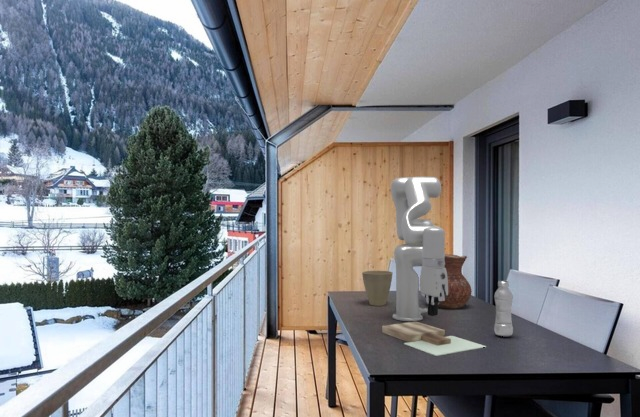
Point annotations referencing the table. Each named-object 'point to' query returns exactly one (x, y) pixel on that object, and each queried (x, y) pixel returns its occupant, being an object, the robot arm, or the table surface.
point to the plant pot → (377, 286)
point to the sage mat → (445, 346)
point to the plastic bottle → (503, 310)
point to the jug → (455, 283)
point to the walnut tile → (436, 339)
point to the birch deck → (411, 331)
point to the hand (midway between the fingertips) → (432, 315)
